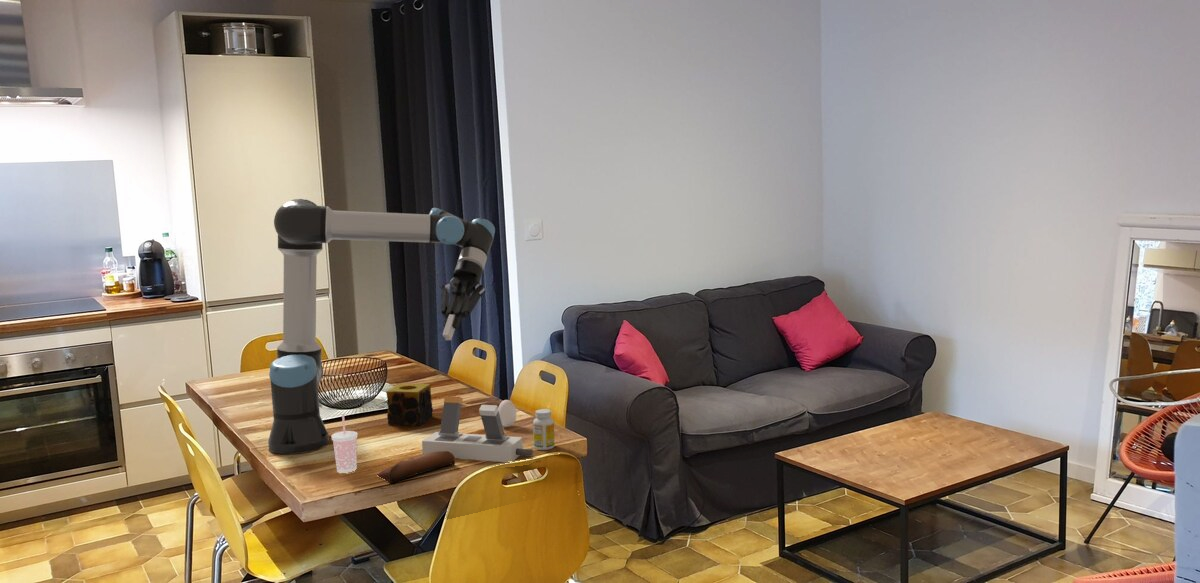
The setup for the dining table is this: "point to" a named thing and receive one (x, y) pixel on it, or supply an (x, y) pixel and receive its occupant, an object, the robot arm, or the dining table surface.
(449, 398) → the switch orange
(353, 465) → the beverage cup
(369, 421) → the dining table surface
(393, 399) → the candle
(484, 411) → the switch white
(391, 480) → the sunglasses case
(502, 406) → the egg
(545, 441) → the supplement bottle
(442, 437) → the power strip
